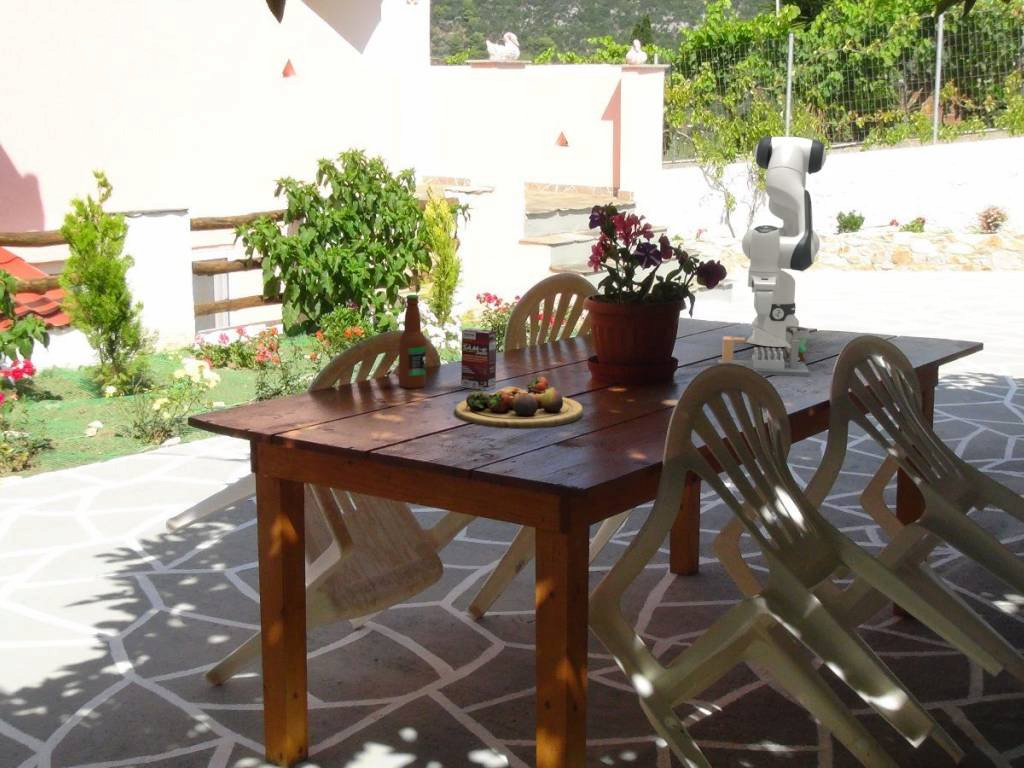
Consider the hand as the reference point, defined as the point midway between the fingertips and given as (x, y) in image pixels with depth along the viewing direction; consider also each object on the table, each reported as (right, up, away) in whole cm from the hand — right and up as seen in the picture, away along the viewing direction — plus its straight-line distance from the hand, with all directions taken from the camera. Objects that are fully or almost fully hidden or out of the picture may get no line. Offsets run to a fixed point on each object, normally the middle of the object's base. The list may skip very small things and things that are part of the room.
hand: (760, 327), depth 381 cm
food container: (+15, -10, +20) cm, 27 cm away
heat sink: (+1, -13, +3) cm, 13 cm away
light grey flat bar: (+4, -4, 0) cm, 5 cm away
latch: (-8, -11, +4) cm, 14 cm away
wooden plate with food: (-72, -25, -62) cm, 98 cm away
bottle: (-101, -18, -31) cm, 107 cm away
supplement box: (-83, -18, -31) cm, 91 cm away
